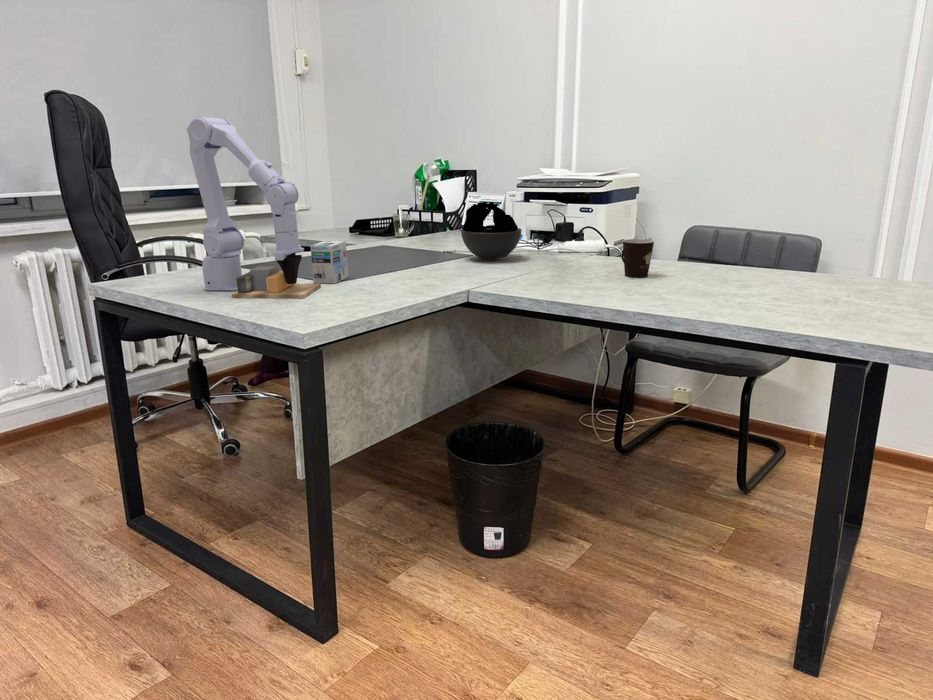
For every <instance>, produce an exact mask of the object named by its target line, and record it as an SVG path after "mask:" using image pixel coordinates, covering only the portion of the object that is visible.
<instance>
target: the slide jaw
mask: <svg viewBox="0 0 933 700" xmlns="http://www.w3.org/2000/svg"><path fill="white" fill-rule="evenodd" d="M266 283H267V291H269V293H278V292H280V291H282V290H284V289H285V288H287V287H289V286H291V285H292V284H287V282H286V279H285V276H284V273H283V271H282V270H280V271H278V273H276V274H274V275H272V276H270V277H268V278H266Z"/></svg>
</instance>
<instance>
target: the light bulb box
mask: <svg viewBox="0 0 933 700" xmlns="http://www.w3.org/2000/svg"><path fill="white" fill-rule="evenodd" d="M310 253H311V254H310V255H311V265H312V279H313V281H312V282H313V284H330V285H331V284H332V285H333V284H337V283H340V282H341V280H342V281H343V280H346V279H348V278H349V268H348V253H347V242H346V240H324V241H321V242H320V241H319V242H317V243H314V244H311V245H310Z"/></svg>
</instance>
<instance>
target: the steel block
mask: <svg viewBox="0 0 933 700" xmlns="http://www.w3.org/2000/svg"><path fill="white" fill-rule="evenodd" d="M249 272H250V278H251V287H252V291H267V283H266V278H268V277H270V276H272V275H274V274H276V273H278V272H279V271H278V266H277V265H276V266H275V265H273V266H272V265H270V266H269V265H259V266H256V267H254V268H251V269H249Z"/></svg>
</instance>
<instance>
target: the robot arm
mask: <svg viewBox="0 0 933 700" xmlns="http://www.w3.org/2000/svg"><path fill="white" fill-rule="evenodd" d="M186 131H187V136H188V139H189V155H190V160H191V163H192V167H193V171H194V174H195V178H196V181H197V186H198V189H199V192H200V196H201V197H200V198H201V201H202V205H203V208H204V212H205V216H206V220H207V222H206V223H205V225H204V226H203V228H202V235H203V240H202V242H203V243H202V244H203V248H204V250H205V252H206V253H207V254H208V255H206V256H204V257H203V260H202V263H201V264H202V266H201V268H202V275H203V283H204V288H203V290H204V291H238V288H237V279H236V278H237V277H239V276H242V275H243V272H242V264H241V263H242V262H241V256H240V255H241V253H242V252H241V251H242V250H243V248H244V246H245V239H244V236H243V234H242V232H241V231H240V229H239V225H238V223H237V222H235V221H234V220H233V219H231V217H230V216H229V212H228V207H227V203H226V200H225V196H224V193H223V188H222V185H221V180H220V178H219V174H218V173H219V172H218V169H217V166H216V161H215V156H216V155H217V153H218V152H219V151H220V150H221V149H222V148H226V149H227V150H228V151H229V152H230V153H231V154H232V155H233V156H235V157H236V158H237V159H238V161H240V162H241V163H242V164H243V165H244V167H247V169H248V173H247V175H248V177H249V178H251V180H252V181H253V182H254V183H255V184H256V185H257V186H258V187H259V189H261V191H262V192H263V193H264V194H266V195H265V196H264V197H265V201H266V202H267V203H268V205H269V207H270V211H271V213H272V221H273V228H274V237H275V245H276V249H275V252H273V253H274V254H273V255H274V261H276V263H277V264H278V265H279V267H280V269H281V271H283V273H284V276H285V279H286V282H287V284H296V283H297V282H298V273H299V267H300V263H301V261H302V258H303V255H302V254H297V253H302V252H304V251H305V247H302V244H300V240H299V231H298V221H297V212H296V203H297V202H298V200H299V191H298V188H297V187H296V186H295V184H294V183H292V182H291V181H286V180H285V178H284V177H283V176H280V174H279V173H278V172H277V171H276V170H275V169H274V168H273V167H272V166H273V164H272V163H271V162H270V161H267V160H265V159H258V157H257V156H256V155H255V154H254V152H253V151H252V150H251V149H250V147H249V146H248V144H246V142H245V141H244V140H243V139H242V137H240V135H239V134H238V133H237V128H236V127H235V126H234V125H233V124H231V122H230V121H229V120H228V119H226V117H218V118H217V117H203V116H195V117H193V118H192V119H191V121H190V123H189V124H188V126H187V127H186Z"/></svg>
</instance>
